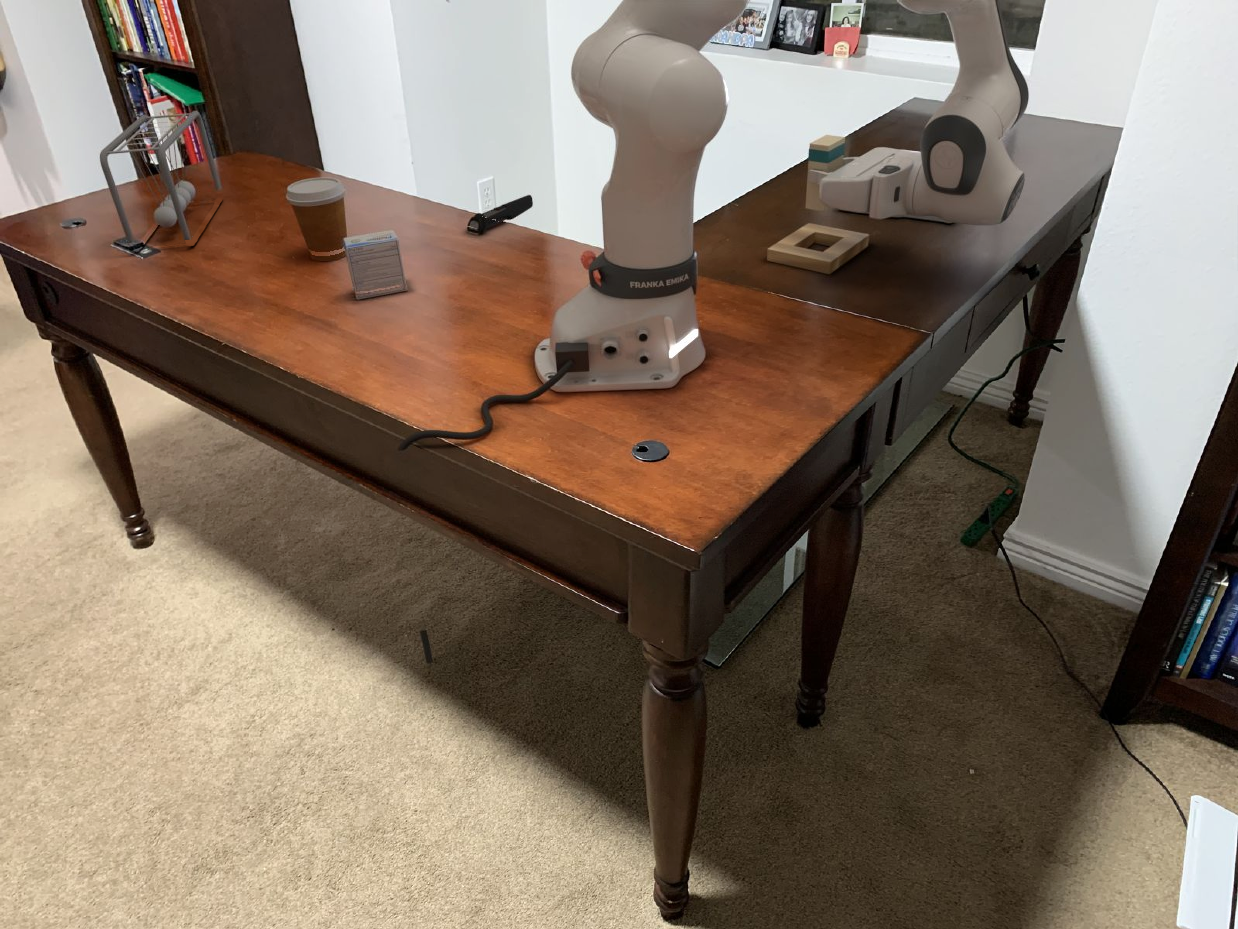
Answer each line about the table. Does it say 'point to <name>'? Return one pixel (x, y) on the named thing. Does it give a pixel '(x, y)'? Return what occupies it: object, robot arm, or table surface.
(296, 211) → the disposable coffee cup
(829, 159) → the box
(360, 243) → the medicine box
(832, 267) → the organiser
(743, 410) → the table surface
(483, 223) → the electric trimmer
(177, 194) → the newton's cradle
